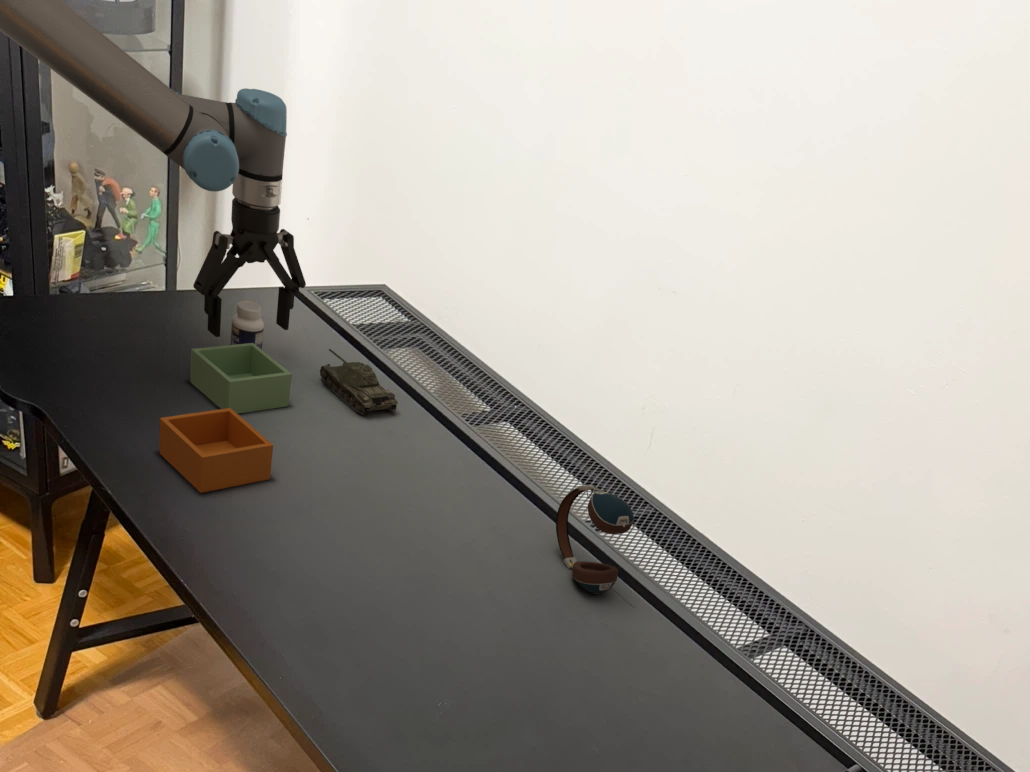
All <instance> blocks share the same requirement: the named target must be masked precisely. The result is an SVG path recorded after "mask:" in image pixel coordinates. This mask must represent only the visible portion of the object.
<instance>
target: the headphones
mask: <svg viewBox="0 0 1030 772" xmlns="http://www.w3.org/2000/svg"><path fill="white" fill-rule="evenodd" d="M591 490H592V491H591ZM585 491H586V496H587V498H588V499H589V501H588V504H587V513H588V516H589V518H590V521H591V522H592V524H593V525H594V527H595V528H597V530H599V531H601V532H602V533H605V534H608V535H609V534H610V535H621V534H625V533H627V532H629V531H630V530H631V528H632V526H633V524H634V522H635V516H634V512H633V510H632V508H631V506H630V504H628V503H627V502H626V501H625V500H623V499H622V498H620V497H619V496H617V495H615V494H613V493H610V492H608V491H603V490H602V489H600V488H598V487H595V485H593V484H585V485H584V484H583V485H578V486H577V487H574V488H573V489H572V490H570V491H569V492H568V493H567V494H565V496H564V498H563V499H562V501H561V502H560V504H559V506H558V508H557V512H556V517H555V533H556V540H557V544H558V547H559V551H560V552H561V555H562V557H563V563H564V564H565V565H566V567H567V569H572V570H571V576H572V578H573V579H574V580H575V581H576V583H577V584H578V585H579V586H580V587H582V589H584V590H585V591H587V592H588V593H591V594H594V595H600V594H604V593H606V592H607V591H609V590H610V589H612V590H613V591H614V592H615V593H616V594H618V591H616V590H615V589H614V588H613V586H614V585H615V584H616V582H617V581H618V577H619V569H618V567H616V566H614V565H610V564H607V563H601V562H595V561H588V560H587V561H586V560H585V561H577V557H575V556H574V553H573V549H572V545H571V541H570V535H569V514H570V511H571V508H572V506H573V504H574V502H575V500H576V499H577V498H578V497H579V496H580V495H581V494H582V493H584V492H585ZM588 491H591V493H590V494H589V493H588ZM619 596H620V597H621V598H622V599H623V600H624V601H625V602H626V603H628V604H629V605H630V606H632V607H633V608H634V609H636V607H635V606H634V605H632V604H631V603H630V602H628V601H627V600H626V599H625V598H624V597H623V596H622V595H620V594H619Z"/></svg>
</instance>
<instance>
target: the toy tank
mask: <svg viewBox="0 0 1030 772" xmlns="http://www.w3.org/2000/svg"><path fill="white" fill-rule="evenodd" d="M328 351H329V352H330V353H331V354H333V356H335V357H337V358H338V359H339V360H340V361H341V362H342V365H337V366H335V365H334V366H331V364H330V363H327V364H326V365H325V364H324V365H322V366H320V369H319V376H320V377H321V379H322V381H323V383H324V385H325V386H326V388H327V389H329V390H330V391H331V392H332V393H333V394H335V396H336V397H338V398H339V399H340V400H342V402H344V403H345V404H346V405H347V406H349V407H350V408H351V409H352V410H353V411H354V412H356V413H357V414H360V415H362V416H364V415H368V414H369V413H370V412H372V411H373V412H374V411H380V410H381V411H382V410H386V411H388V412H392V411H397V407H398V406H397V405H399V402H398V400H397V399H396V395H395V393H393V392H392V391H391V390H390V389H385V388H384V387H383V386H382V385H381V384H380V381H379V380H378V377H377V374H376V372H375V371H374V370H373V368H372V367H371V366H370V365H369V364H364V363H363V362H359V361H356V362H355V361H351V362H347V361H346V360H345V359H344V358H342V357H341V356H340V354H339V355H338V354H337V353H336V352H335V351H334V350H333V349H331V348H328ZM369 355H371V353H370V354H369ZM369 361H370V360H369V359H368V361H367V362H369Z"/></svg>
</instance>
